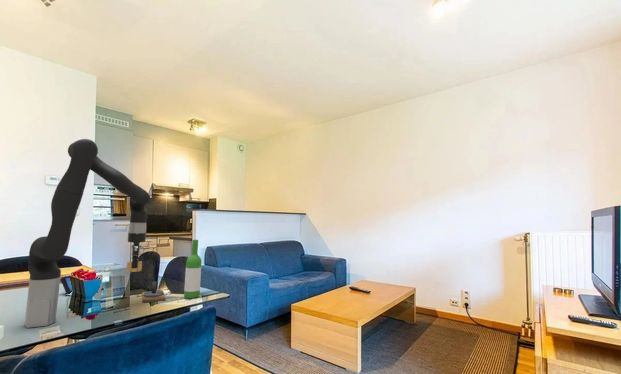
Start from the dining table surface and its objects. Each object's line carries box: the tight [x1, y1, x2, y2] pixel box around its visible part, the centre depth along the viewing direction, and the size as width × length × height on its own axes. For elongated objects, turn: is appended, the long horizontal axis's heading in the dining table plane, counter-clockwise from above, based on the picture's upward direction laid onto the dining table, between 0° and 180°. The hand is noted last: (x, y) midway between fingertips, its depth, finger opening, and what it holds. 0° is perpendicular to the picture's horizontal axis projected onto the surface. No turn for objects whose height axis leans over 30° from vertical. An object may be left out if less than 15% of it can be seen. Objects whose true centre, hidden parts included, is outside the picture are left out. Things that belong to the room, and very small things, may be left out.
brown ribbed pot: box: [126, 260, 143, 273], centre depth 148 cm, size 6×6×4 cm
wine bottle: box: [183, 239, 202, 299], centre depth 164 cm, size 8×8×30 cm
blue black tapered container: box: [60, 275, 105, 295], centre depth 165 cm, size 16×13×9 cm
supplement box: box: [93, 272, 104, 299], centre depth 152 cm, size 7×7×13 cm
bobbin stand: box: [141, 281, 166, 304], centre depth 159 cm, size 16×10×8 cm, turn 29°
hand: (134, 267), depth 148 cm, fingers closed on brown ribbed pot, 6 cm apart
